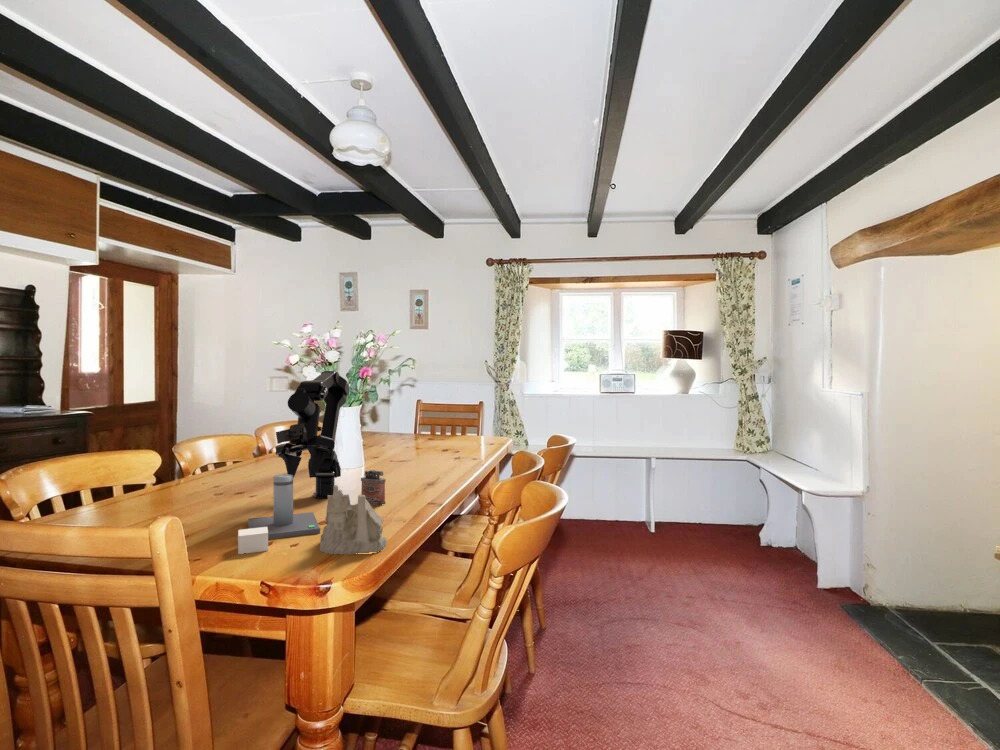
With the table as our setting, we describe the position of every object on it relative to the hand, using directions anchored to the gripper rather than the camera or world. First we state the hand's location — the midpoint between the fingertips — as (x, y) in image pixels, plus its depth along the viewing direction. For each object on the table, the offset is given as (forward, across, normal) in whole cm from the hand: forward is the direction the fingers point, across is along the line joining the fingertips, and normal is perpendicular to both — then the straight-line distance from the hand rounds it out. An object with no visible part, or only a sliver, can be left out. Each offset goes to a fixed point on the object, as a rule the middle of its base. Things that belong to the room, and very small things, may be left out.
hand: (301, 477), depth 147 cm
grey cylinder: (+13, +3, -6) cm, 14 cm away
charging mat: (+16, +6, -8) cm, 19 cm away
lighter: (+5, +3, +24) cm, 24 cm away
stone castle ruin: (+19, +26, -2) cm, 32 cm away
